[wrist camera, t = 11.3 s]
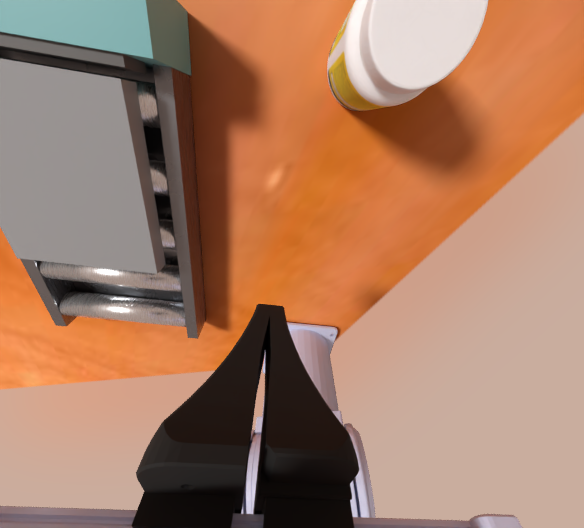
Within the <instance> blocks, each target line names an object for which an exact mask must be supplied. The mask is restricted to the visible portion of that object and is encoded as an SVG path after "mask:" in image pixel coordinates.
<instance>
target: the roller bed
mask: <svg viewBox="0 0 584 528" xmlns="http://www.w3.org/2000/svg"><path fill="white" fill-rule="evenodd" d="M0 58H1V59H7V60H13V61H19V62H25V63H30V64H36V65H42V66H48V67H54V68H60V69H66V70H72V71H78V72H83V73H89V74H95V75H101V76H107V77H113V78H119V79H123V80H128V81H132V82H136V85H137V92H138V98H139V104H140V110H141V116H142V122H143V128H144V135H145V141H146V147H147V153H148V159H149V165H150V171H151V177H152V184H153V190H154V196H155V202H156V208H157V214H158V220H159V227H160V233H161V239H162V245H163V251H164V257H165V263H166V265H165V266H164V267H163V268H162V269H161V270H160V271H159V273H158V274H154V273H145V272H136V271H127V270H118V269H109V268H100V267H91V266H83V265H74V264H65V263H56V262H47V261H38V260H29V259H21V261H22V263H23V265H24V266H25V268H26V270H27V272H28V274H29V276H30V278H31V280H32V281H33V283H34V285H35V287H36V289H37V291H38V293H39V295H40V296H41V298H42V300H43V302H44V304H45V306H46V308H47V310H48V311H49V313H50V315H51V317H52V319H53V321H54V323H55V325H58V326H67V325H69V324H70V323H71V322H72V321H73V320H74V319H75V318H76V317H77V316H78V317H88V318H99V319H109V320H120V321H130V322H140V323H151V324H161V325H172V326H182V327H187V334H188V338H198V337H199V335H200V332H201V330H202V328H203V325H204V323H205V321H206V309H205V294H204V279H203V264H202V249H201V234H200V219H199V204H198V189H197V174H196V159H195V144H194V129H193V114H192V99H191V84H190V75H188V74H185V73H183V72H181V71H179V70H176V69H174V68H172V67H167V66H161V65H156V64H153V68H148V67H146V73H147V74H143V73H137V72H131V71H126V70H120V69H114V68H108V67H102V66H97V65H91V64H85V63H79V62H73V61H68V60H62V59H56V58H50V57H45V56H39V55H33V54H27V53H21V52H16V51H10V50H4V49H0Z"/></svg>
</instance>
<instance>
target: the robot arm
mask: <svg viewBox="0 0 584 528" xmlns="http://www.w3.org/2000/svg"><path fill="white" fill-rule="evenodd" d="M337 333H338V331H337V328H336V327H329V326H319V325H309V324H299V323H290V322H287V321H286V317H285V311H284V307H283V306H276V305H266V304H258V305H257V307H256V310H255V312H254V314H253V317H252V319H251V320H250V322H249V324H248V326H247V328H246V329H245V331H244V333H243V334H242V336H241V338H240V339H239V340H238V342H237V343H236V345H235V346H234V348H233V349H232V351H231V352H230V353H229V355H228V356H227V357H226V358H225V360H224V361H223V362H222V363H221V365H220V366H219V367H218V368H217V369H216V370H215V372H214V373H213V374H212V375H211V376H210V377H209V378H208V379H207V381H206V382H205V383H204V384H203V385H202V386H201V387H200V388H199V389H198V390H197V391H196V392H195V393H194V394H193V395H192V396H191V397H190V398H189V399H188V400H187V401H186V402H184V403H183V404H182V405H181V406H180V407H179V408H178V409H177V410H175V411H174V412H173V413H172V414H171V415H170V416H169V417H168V418H166V419H165V420H164V421H163V423H162V424H161V425H160V427H159V428H158V430H157V432H156V433H155V435H154V437H153V438H152V440H151V442H150V444H149V445H148V447H147V449H146V451H145V453H144V456H143V459H142V460H141V463H140V465H139V467H138V470H137V472H136V475H137V478H138V481H139V482H140V484H141V486H142V487H143V489H144V491H145V492H144V494H143V497H142V499H141V502H140V504H139V507H138V510H110V509H79V508H48V507H15V506H0V528H522V526H521V525H520V523H519V521H518V519H517V518H516V517H515V516H514V515H498V514H497V515H496V514H483V515H478V516H475V517H473V518H471V519H470V521H457V520H426V519H393V518H375V507H374V500H373V494H372V487H371V481H370V476H369V470H368V466H367V461H366V456H365V452H364V448H363V444H362V441H361V437H360V434H359V432H358V431H357V430H356V429H355V428H353V426H352V425H351V424H349V423H348V424H344V426H343V421H342V415H341V411H339V410H338V404H337V398H336V392H335V386H334V379H333V374H332V367H331V361H330V353H331V350H332V347H333V344H334V341H335V338H336V335H337ZM264 355H265V357H264ZM263 360H264V365H263ZM262 365H263V373H264V374H265V396H264V406H263V415H262V416H261V417H257V420H256V429H255V430H252V425H253V416H254V408H255V400H256V394H257V389H258V384H259V379H260V374H261V369H262Z"/></svg>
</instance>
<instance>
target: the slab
mask: <svg viewBox="0 0 584 528" xmlns="http://www.w3.org/2000/svg"><path fill="white" fill-rule="evenodd" d="M0 227H1V229H2V231H3V233H4V234H5V236H6V238H7V240H8V242H9V244H10V246H11V247H12V249H13V251H14V253H15V255H16V257H17V258H20V259H29V260H38V261H47V262H56V263H65V264H74V265H83V266H91V267H100V268H109V269H118V270H127V271H136V272H145V273H154V274H158V273H159V271H160V270H161V269H162V268H163V267H164V266H165V265H166V263H165V257H164V251H163V245H162V239H161V233H160V227H159V220H158V214H157V208H156V202H155V196H154V190H153V184H152V177H151V171H150V165H149V159H148V153H147V147H146V141H145V135H144V128H143V122H142V116H141V110H140V104H139V98H138V92H137V85H136V82H132V81H128V80H123V79H119V78H113V77H107V76H101V75H95V74H89V73H83V72H78V71H72V70H66V69H60V68H54V67H48V66H42V65H36V64H30V63H25V62H19V61H13V60H7V59H1V58H0Z"/></svg>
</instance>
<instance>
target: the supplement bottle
mask: <svg viewBox="0 0 584 528" xmlns="http://www.w3.org/2000/svg"><path fill="white" fill-rule="evenodd" d="M487 4H488V0H356V1H355V3H354V4H353V6H352V8H351V10H350V12H349V14H348V16H347V18H346V19H345V21H344V23H343V25H342V27H341V29H340V31H339V32H338V34H337V36H336V38H335V40H334V42H333V45H332V47H331V50H330V53H329V58H328V64H327V75H328V82H329V86H330V89H331V92H332V94H333V96H334V97H335V99H336V100H337V101H338V102H339V103H340V104H341V105H342V106H344V107H345V108H347V109H350V110H354V111H366V110H372V109H378V108H385V107H391V106H396V105H400V104H403V103H406V102H408V101H410V100H412V99H413V98H415V97H416V96H418V95H419V94H421V93H422V92H423V91H424V90H425V89H427V88H428V87H430V86H432V85H434V84H436V83H438V82H439V81H441V80H442V79H444V78H445V77H446V76H448V75H449V74H450V73H451V72H452V71H453V70H454V69H455V68H456V67H457V66H458V65H459V64H460V63H461V62H462V60H463V59H464V58H465V56H466V55H467V54H468V52H469V51H470V49H471V47H472V46H473V44H474V42H475V40H476V38H477V36H478V34H479V31H480V29H481V26H482V24H483V21H484V17H485V14H486V10H487Z"/></svg>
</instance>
